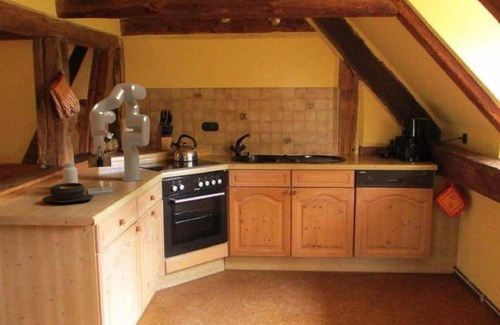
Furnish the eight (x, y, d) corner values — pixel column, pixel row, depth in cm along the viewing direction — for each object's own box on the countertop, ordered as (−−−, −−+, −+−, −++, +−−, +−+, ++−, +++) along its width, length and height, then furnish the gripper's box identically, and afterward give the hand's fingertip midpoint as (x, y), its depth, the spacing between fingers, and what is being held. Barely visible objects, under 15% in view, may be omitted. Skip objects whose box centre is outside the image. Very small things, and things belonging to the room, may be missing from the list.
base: (87, 190, 249) (87, 180, 248) (111, 189, 253) (111, 178, 252) (88, 195, 237) (87, 184, 236) (113, 193, 241) (112, 182, 240)
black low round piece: (98, 197, 233) (97, 181, 232) (87, 205, 215) (86, 188, 214) (50, 197, 232) (49, 182, 230) (35, 206, 213) (34, 189, 212)
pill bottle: (74, 186, 262) (73, 161, 260) (80, 188, 257) (79, 162, 255) (61, 188, 257) (60, 162, 255) (67, 190, 251) (65, 164, 249)
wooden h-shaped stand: (88, 167, 238) (88, 158, 237) (88, 166, 244) (87, 157, 243) (111, 166, 242) (111, 157, 242) (110, 164, 248) (110, 156, 247)
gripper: (90, 132, 247) (92, 163, 250) (91, 134, 231) (93, 168, 234) (104, 132, 250) (106, 163, 252) (106, 134, 234) (108, 167, 236)
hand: (99, 165), depth 243 cm, fingers closed on wooden h-shaped stand, 6 cm apart
